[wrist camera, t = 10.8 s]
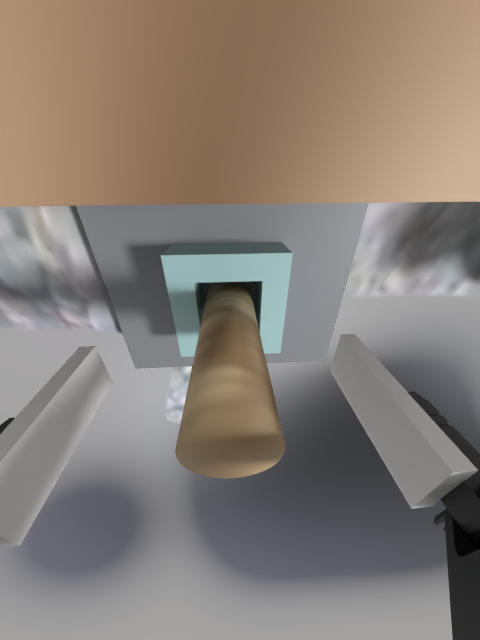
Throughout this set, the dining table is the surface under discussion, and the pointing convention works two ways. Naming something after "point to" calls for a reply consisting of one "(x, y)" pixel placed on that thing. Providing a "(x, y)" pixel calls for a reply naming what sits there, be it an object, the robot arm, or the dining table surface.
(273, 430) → the oak peg
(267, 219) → the socket board
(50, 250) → the dining table surface
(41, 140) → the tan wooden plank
